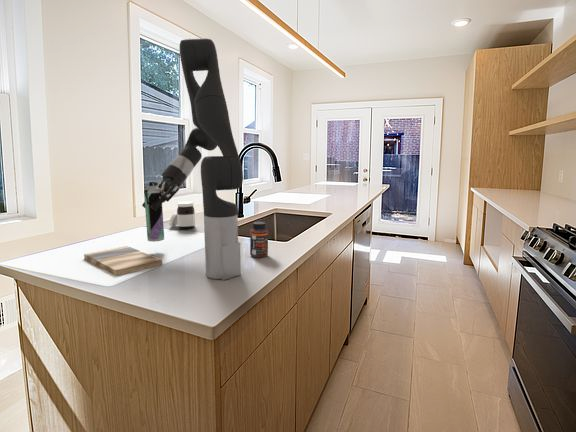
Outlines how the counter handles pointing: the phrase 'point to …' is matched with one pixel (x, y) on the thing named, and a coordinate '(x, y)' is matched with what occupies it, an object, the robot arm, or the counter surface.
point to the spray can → (153, 214)
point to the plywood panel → (122, 260)
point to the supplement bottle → (259, 240)
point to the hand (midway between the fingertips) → (148, 208)
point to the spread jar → (184, 216)
